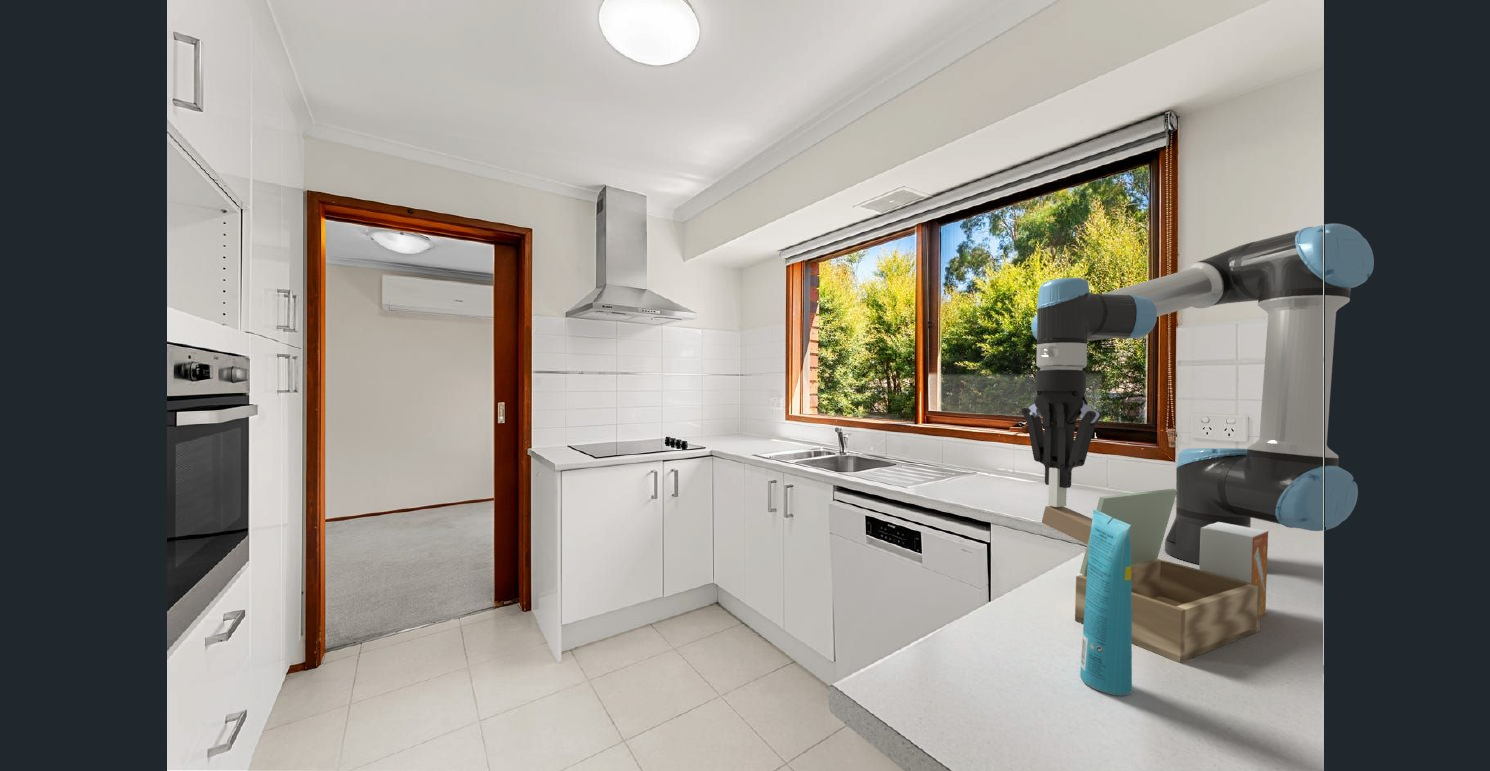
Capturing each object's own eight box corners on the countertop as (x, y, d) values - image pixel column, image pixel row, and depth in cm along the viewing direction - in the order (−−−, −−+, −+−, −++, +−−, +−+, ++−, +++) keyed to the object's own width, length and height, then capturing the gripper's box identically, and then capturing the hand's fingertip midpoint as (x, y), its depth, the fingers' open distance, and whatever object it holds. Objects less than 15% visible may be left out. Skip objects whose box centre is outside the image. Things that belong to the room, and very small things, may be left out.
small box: (1251, 625, 78) (1253, 536, 78) (1196, 609, 83) (1198, 526, 83) (1267, 613, 82) (1269, 530, 82) (1214, 599, 88) (1216, 520, 88)
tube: (1150, 704, 57) (1155, 525, 57) (1104, 702, 57) (1109, 523, 57) (1105, 667, 64) (1109, 509, 64) (1064, 666, 64) (1068, 508, 64)
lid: (1157, 558, 87) (1081, 524, 98) (1177, 490, 85) (1097, 462, 96) (1083, 575, 78) (1008, 535, 89) (1104, 498, 75) (1024, 467, 86)
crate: (1156, 597, 88) (1157, 558, 88) (1259, 630, 76) (1260, 585, 76) (1074, 620, 78) (1076, 576, 78) (1180, 662, 66) (1181, 610, 66)
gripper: (1012, 369, 96) (1009, 499, 96) (1086, 367, 84) (1082, 515, 84) (1038, 370, 99) (1035, 496, 99) (1113, 369, 88) (1109, 512, 88)
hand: (1057, 505), depth 92 cm, fingers closed
